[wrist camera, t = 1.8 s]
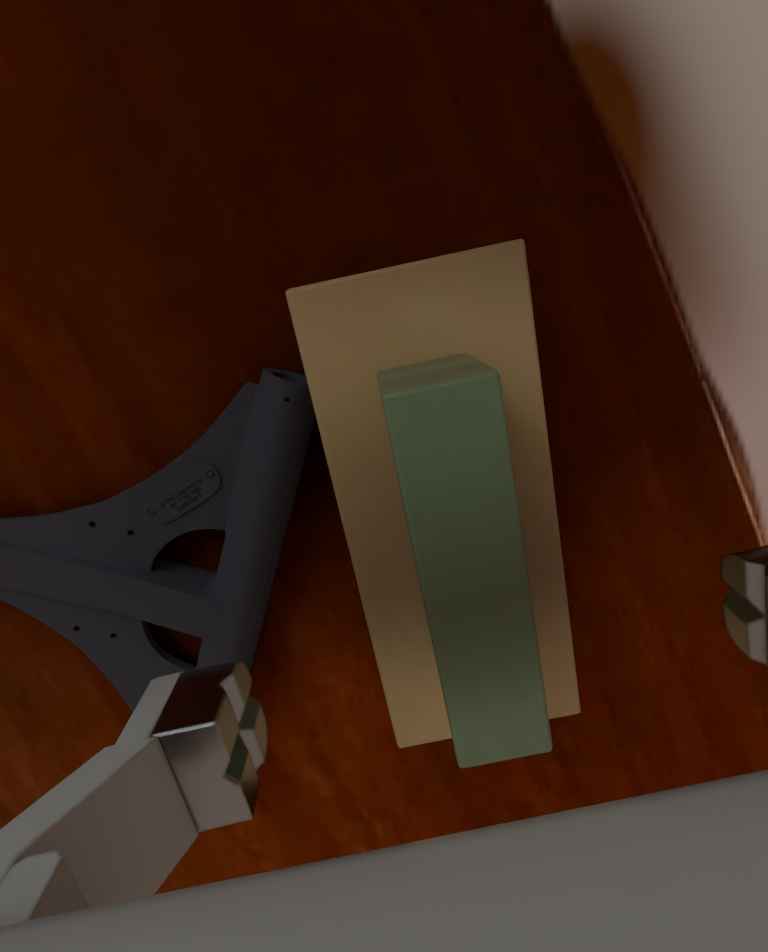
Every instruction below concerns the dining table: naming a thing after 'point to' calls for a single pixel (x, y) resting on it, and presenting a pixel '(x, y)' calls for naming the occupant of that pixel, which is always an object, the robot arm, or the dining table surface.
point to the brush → (446, 494)
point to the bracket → (155, 524)
